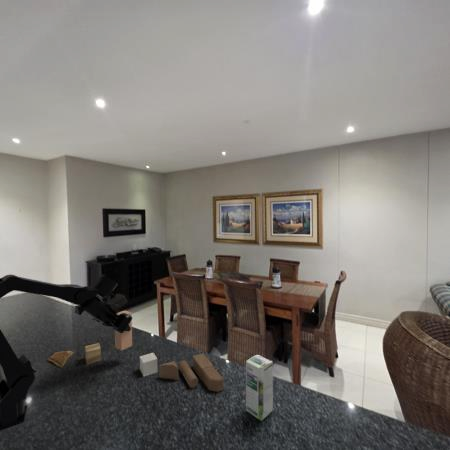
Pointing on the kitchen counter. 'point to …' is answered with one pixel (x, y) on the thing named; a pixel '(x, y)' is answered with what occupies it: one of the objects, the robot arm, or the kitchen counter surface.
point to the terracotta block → (124, 336)
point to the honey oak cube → (93, 353)
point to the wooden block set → (201, 368)
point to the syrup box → (259, 386)
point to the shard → (60, 358)
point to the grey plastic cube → (148, 364)
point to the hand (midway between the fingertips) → (126, 328)
